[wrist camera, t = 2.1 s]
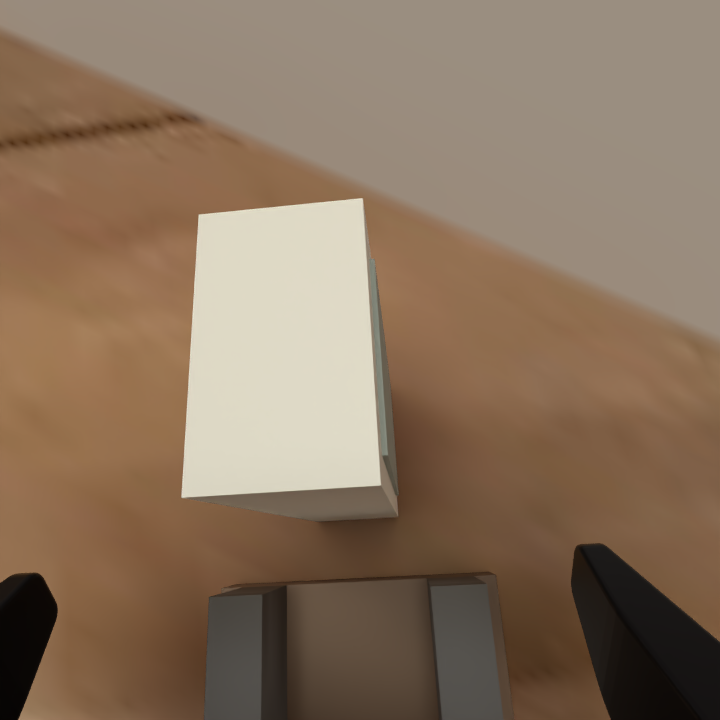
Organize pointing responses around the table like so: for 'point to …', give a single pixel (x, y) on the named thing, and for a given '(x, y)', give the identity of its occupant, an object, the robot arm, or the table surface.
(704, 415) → the table surface
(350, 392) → the cream slab
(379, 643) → the display ledge
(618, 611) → the robot arm
